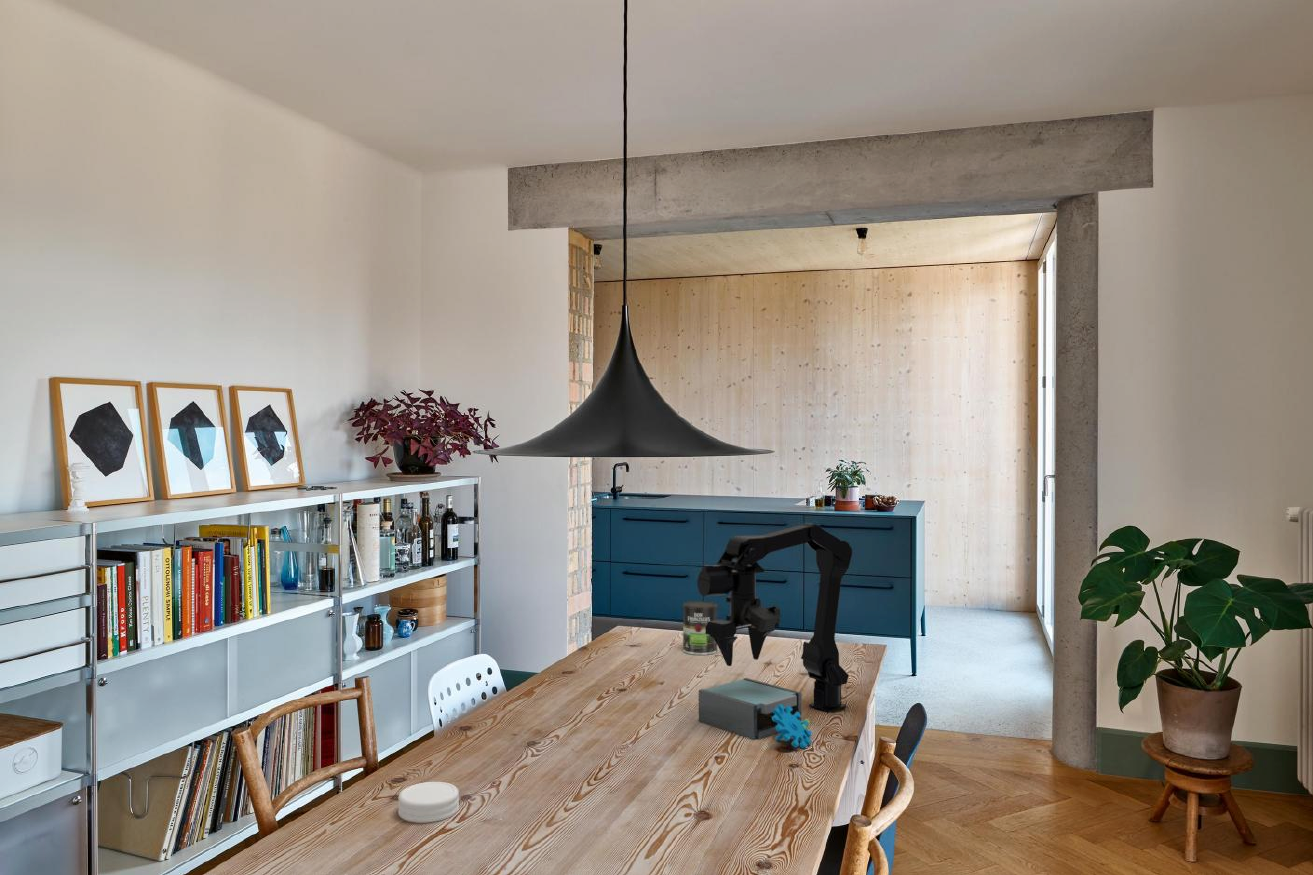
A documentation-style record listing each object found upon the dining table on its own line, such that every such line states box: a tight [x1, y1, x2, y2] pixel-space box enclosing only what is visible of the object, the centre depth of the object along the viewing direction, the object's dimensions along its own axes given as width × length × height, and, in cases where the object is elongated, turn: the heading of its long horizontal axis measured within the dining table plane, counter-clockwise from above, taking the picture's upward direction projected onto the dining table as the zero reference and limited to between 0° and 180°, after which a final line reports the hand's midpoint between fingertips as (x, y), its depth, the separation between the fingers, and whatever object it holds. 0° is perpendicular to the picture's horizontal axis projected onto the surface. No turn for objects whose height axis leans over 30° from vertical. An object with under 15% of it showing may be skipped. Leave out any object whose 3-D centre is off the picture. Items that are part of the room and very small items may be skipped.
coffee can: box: [682, 600, 719, 656], centre depth 271 cm, size 10×10×14 cm
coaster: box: [397, 781, 460, 824], centre depth 155 cm, size 10×10×4 cm
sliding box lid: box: [703, 678, 797, 715], centre depth 203 cm, size 13×18×2 cm
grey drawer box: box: [698, 677, 802, 741], centre depth 203 cm, size 16×17×7 cm
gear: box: [771, 704, 813, 749], centre depth 190 cm, size 11×6×10 cm
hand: (742, 662), depth 205 cm, fingers open, 8 cm apart
